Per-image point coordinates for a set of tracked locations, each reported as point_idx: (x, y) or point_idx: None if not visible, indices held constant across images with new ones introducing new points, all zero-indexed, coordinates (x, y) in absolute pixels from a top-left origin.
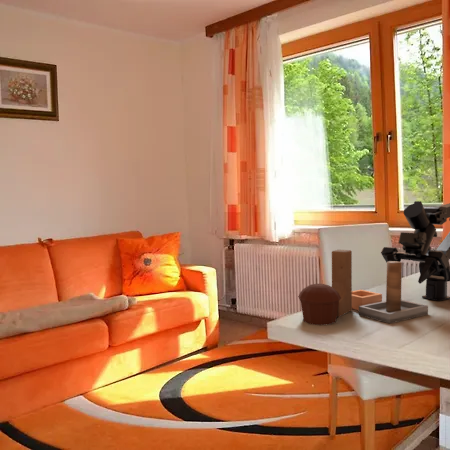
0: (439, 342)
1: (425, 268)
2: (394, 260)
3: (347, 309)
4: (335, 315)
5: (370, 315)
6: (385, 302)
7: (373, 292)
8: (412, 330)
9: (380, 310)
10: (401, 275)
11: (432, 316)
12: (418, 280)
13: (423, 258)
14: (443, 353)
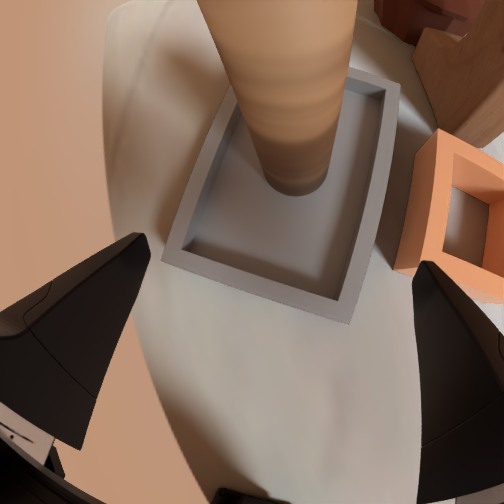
0: (113, 44)
1: (36, 303)
2: (495, 457)
3: (435, 101)
4: (381, 8)
5: None
6: (363, 211)
7: (464, 280)
8: (174, 60)
9: (344, 146)
10: (219, 53)
11: (155, 243)
12: (138, 234)
13: (47, 494)
14: (109, 18)
